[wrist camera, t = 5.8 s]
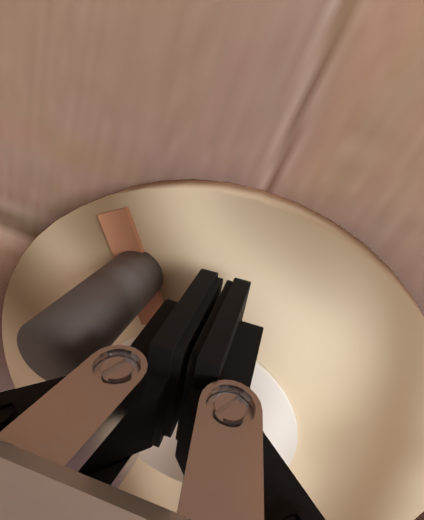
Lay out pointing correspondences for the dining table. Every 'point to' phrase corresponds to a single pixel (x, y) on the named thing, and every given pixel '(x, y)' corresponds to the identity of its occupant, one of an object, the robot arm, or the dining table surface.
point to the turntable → (256, 312)
